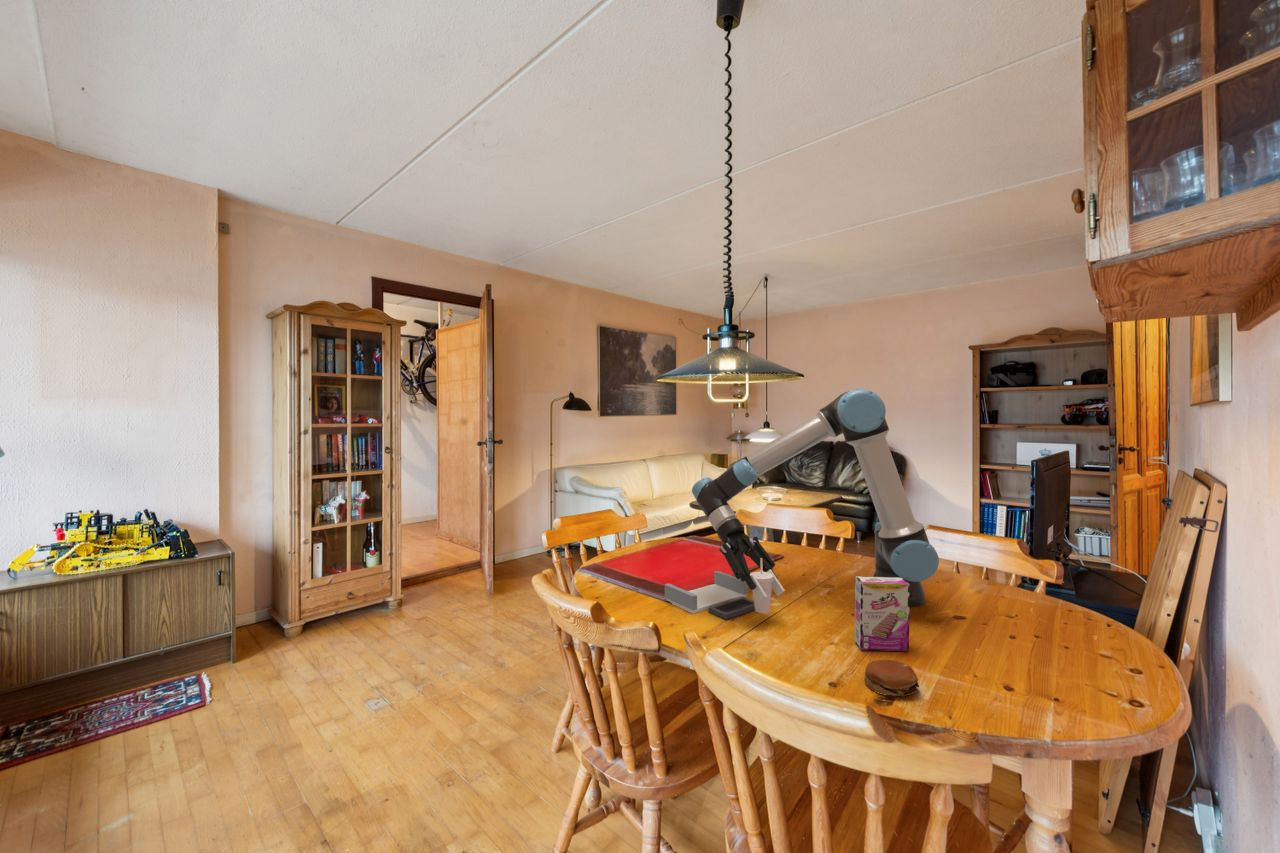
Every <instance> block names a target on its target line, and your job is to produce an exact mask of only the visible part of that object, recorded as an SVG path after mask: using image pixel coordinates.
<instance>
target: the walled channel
mask: <svg viewBox="0 0 1280 853" xmlns="http://www.w3.org/2000/svg"><path fill="white" fill-rule="evenodd" d="M713 572H714V573H713V578H714V580H713V581H714V583H713V584H709V585H706V586H702V587H698V588H694V589H692V590H685V589H683V588H680V587H678V586H676V585H674V584H671V583H665V584H664V600H665V599H667V600H669V601H670V602H671V603H672V604H671V603H670V604H671V605H673V606H675V607H677V608H679V609H681V610H683V611H686V612H687V613H689V614H692V615H693V614H697V613H700V612H703V611H704V612H705V611H706V610H709V608H708V607H712V606H715V605H718V604H721V603H725V602H728V601H731V600H734V599H737V598H741V597H746V598H748V585H747V583H746V582H745V581H744V582H742V581H741V579H737V578H736V577H735V575H731V574H728V573H725V572H722V571H720V570H717V571H716V570H714V571H713Z"/></svg>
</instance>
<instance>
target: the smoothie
mask: <svg viewBox="0 0 1280 853" xmlns="http://www.w3.org/2000/svg"><path fill="white" fill-rule="evenodd" d="M759 569H760V571H754V572H750V576H751V575H754V576H755V578H756V579H757V581H758V582H759V584H760V586H761V587H762V589H763V590H764V592H765V594H766V595H767V597H766V598H765V599H764V600H763V601H762V602H759V600H758V599H757V597H756V595H755V594H754V592H753V590H751V591H752V595H753V601H754V605H755V611H754V612H756V613H758V614H767V613H770V609H771V608H770V607H771V598H772V591H773V589H772V581H773V580H774V577H773V575H772V574H771V573H767V572H764V571H763V564H762V558H760V567H759Z"/></svg>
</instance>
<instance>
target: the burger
mask: <svg viewBox="0 0 1280 853" xmlns="http://www.w3.org/2000/svg"><path fill="white" fill-rule="evenodd" d="M864 670H865V671H864V683H865V685H866V686H867V685H868V686H867V687H868V688H869V687H870V688H871V689H872V691H873V690H874V691H876V692H879V693H882V694H886V695H892V696H891V697H907V696H906V695H909V696H910V694H911V695H913V694H914V692H915V693H916V692H917V691H918V689H920V684H919V682H918V681H919V679H918V677H917V674H916V672H915V670H914V669H913V668H912V667H911V665H908V664H907V663H904V662H901V661H897V660H894V659H893V660H892V659H885V658H884V659H874V660H872V661H870V662H868V663H867V665H866V667H865V669H864ZM870 688H869V689H870ZM871 689H870V690H871ZM874 691H873V692H874ZM876 692H875V693H876ZM886 695H885V696H886Z"/></svg>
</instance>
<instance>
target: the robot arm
mask: <svg viewBox="0 0 1280 853" xmlns="http://www.w3.org/2000/svg"><path fill="white" fill-rule="evenodd" d="M886 412H887V411H886V405H885V402H884V401H883V399H882V397H880V395H878V394H877V393H875V392H874V391H872V390H869V389H865V388H855V389H851V390H848V391H845V392H844V393H841V394H839V396H837V397H835V399H834V400H833V401H830V403H828V404H826V405H825V406H824V407H822V408H820V409H819V410H817V414H816V415H815V416H813V417H811V418H810V419H808V420H806V421H804V422H803V423H801V424H799V425H797V426H796V427H794V428H792V429H790V430H789V431H787V432H786V433H784V434H782V435H780V436H778V437H777V438H775V439H773V440H772V441H770V442H767V443H766V444H764V445H763V446H761V447H759V448H758V449H756V450H754V451H753V452H751V453H749V454H747V455H746V456H744V457H742V458H740V459H739V460H737V461H734V462H731V463H730V464H729V465H728V467H727V468H726V470H725V471H724V472H722V473H721V474H720V475H719V476H717V478H714V479H712V478H711V477H704V478H703V477H702V479H699V480H697V481H696V482H695V483H694V484H693V486H692V488H691V494H693V496H694V499H695V501H696V503H697V504H698V506H699V507H700V508H701V510H702V512H703V514H704V515H705V516H706V518H707V520H708V521H709V523H710V525H711V526H712V528H713V530H715V532H716V534H717V536H718V538H719V539H720V541H721V543H723V544H722V546H720V547H719V552H720V553H721V554H722V555H723V556H724V558H725V559H726V562H727V565H728V566H729V567H730V569H731V571H732V573H733V576H734V577H736V578H737V579H741V581H742V582H744V581H745V582H746V583H747V587H748V589H750V590H751V591H752V590H753V591H752V593H753V592H754V594H755V595H756V597H757V599H758V600H759V602H762V601H763V600H764V599H765V598H766V597H767V595H766V594H765V592H764V590H763V589H762V587H761V586H760V584H759V582H758V581H757V579H756V578H755V576H754V575H751V576H750V574H751V572H750V569H749V566H748V564H747V560H746V558H745V556H746V557H749V559H751V560H752V561H753V563H755V564H756V565H757V567H759V568H760V558H762V564H763V572H767V573H771V574H772V575H773V577H774V580H773V581H772V591H773V592H774V593H775V595H776V596H777V597H779V596H780V595H782V594H783V593H784V592H786V590H785V588H784V587H783V585H782V584H781V582H780V581H779V578H778V576H777V574H776V573H775V572H774V567H775V566H776V562H774V560H773V559H772V557H771V556H770V555H769V554H768V552H767V551H766V550H765V548H764V547H763V546H762V545H761V543H760V541H759V538H758V537H757V536H754V537H752V538H751V537H750V536H748V535H747V534H746V533H745V527H744V525H743V524H742V522H741V521H740V519H739V518H738V516H737V514H736V512H734V509H732V508H731V506H730V505H729V503H728V501H730V500H732V499H733V498H734V497H737V495H739V494H740V493H741V492H743V491H745V489H747V488H749V487H750V486H752V484H753V483H755V482H756V481H757V480H758V478H759V477H760V476H761V475H764V474H765V473H766V472H769V471H770V470H773V469H774V468H776V467H778V466H779V465H781V464H783V463H785V462H787V461H789V460H791V459H792V458H794V457H795V456H798V455H799V454H801V453H803V452H805V451H806V450H808V449H811V448H812V447H813V446H815V445H818V444H819V443H821V442H822V441H825V440H826V439H828V438H830V437H831V438H836V437H838V436H840V435H842V434H843V435H842V436H843V437H844V440H845V443H846V444H848V445H849V446H852V447H853V448H854V452H855V454H856V457H857V460H858V462H859V466H860V469H861V471H862V474H863V477H864V481H865V484H866V485H867V486H866V487H867V488H868V492H869V495H870V497H871V501H872V503H873V506H874V509H875V511H876V515H877V517H878V520H879V521H878V522H876V523H875V527H874V532H873V533H874V560H875V561H874V564H875V566H874V567H875V568H874V569H875V570H874V573H873V575H872V577H896V578H902V579H904V580H905V581H906V582H908V583H909V584H910V591H909V592H910V593H909V607H919V606H921V605H924V604H925V603H926V593H925V589H924V588H923V584H922V582H924V581H926V580H928V579H930V578H931V577H933V576H934V575H935V573H936V572H937V570H938V568H939V566H940V558H939V554H938V552H937V550H936V549H935V547H934V546H933V544H931V543H930V540H929V539H928V535H927V532H926V530H925V529H926V528H925V527H924V525H923V523H921V522H919V521H917V520H915V518H914V514H913V511H912V508H911V505H910V503H909V500H908V497H907V495H906V492H905V488H904V485H903V483H902V479H901V478H900V475H899V473H898V468H897V466H896V463H895V460H894V458H893V455H892V452H891V449H890V446H889V443H888V440H887V436H888V434H889V431H890V428H889V425H888V422H887V420H886Z"/></svg>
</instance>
